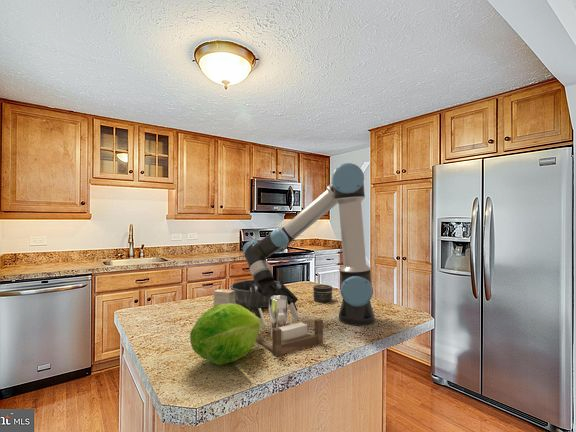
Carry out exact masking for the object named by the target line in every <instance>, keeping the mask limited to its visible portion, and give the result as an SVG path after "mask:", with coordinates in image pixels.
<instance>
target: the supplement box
mask: <svg viewBox="0 0 576 432" xmlns="http://www.w3.org/2000/svg"><path fill="white" fill-rule="evenodd" d="M230 303H231V304H236V302H235V290H231V289H225V288H218V289H215V290H213V307H214V306H217V305H221V304H230Z"/></svg>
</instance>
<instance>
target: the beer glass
mask: <svg viewBox="0 0 576 432" xmlns="http://www.w3.org/2000/svg"><path fill="white" fill-rule="evenodd" d="M288 306H289V304H288V303H287V297H286V296H283V295H273V296H270V297H269V306H268V318H269V324H270V334H269V336H270V337H271V338H272V339H273V329H274V328H279V327H283V326H286V324H287V319H288V313H289V310H288V309H289V307H288Z"/></svg>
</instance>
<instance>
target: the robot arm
mask: <svg viewBox="0 0 576 432" xmlns="http://www.w3.org/2000/svg"><path fill="white" fill-rule="evenodd" d="M331 175H332V176H331V183H330V184H328V185H326V186H327V187H326V190H325V191H324V192H323V193H322V194H320V195H319V196H318V197H317V198H315V199H314V200H313V201H312V202H310V204H309V205H308V206H306V207H305V208H304V209H303V210H301V211H300V212H299V213H298V214H297V215H296V216H294V217H293V218H292V219H291V220H289V221H288V222H287V223H286V224H285V225H284V226H283V227H278V228H276V229H274V230H273V231H271V232H270V233H269V234H267V235H266V236H265V237H263V238H262V239H261V240H259V241H257V240H250V241H247V242H246V243H245V244H244V245H243V246H242V252H243V255H244V258H245V260H246V263H247V265H248V268H249V270H250V274H251V277H252V278H253V279H252V280H254V282H255V285H256V286H254V285H252V286H251V287H250V299H249V305H248V307H247V309H248V310H249V311H250V312H252V313H253V314H254V315H255V316H257V317H258V318H260V319H261V320H262V327H261V329H265V328H266V327H267V326H268V324H267V322H266V320H265V319H266V318H265V317H264V313H263V311H262V307H259V305H260V302H261V300H262V298H263V296H265V297H266V296H273V295H283V296H286V297H287V303H288V309H289V311H290V314H291V317H292V318H293V320H294V322H295V323H296V322H297V323H298V321H299V319H300V316H299V313H298V308H297V305H296V303H297V301H298V297H297V296H296V295H295V294H294V293H293V292H292V291H290V289H289V288H287V286H286V285H285V284H284V282H283V281H279V282H280V283H277V284H276V283H275V282H274V281H275V278H274V275H273V273H272V271H271V267H270V265H269V264H268V261H267V259H268V258H269V257H270V256H272V255H273V254H274V253H276V252H277V251H280V250H282V249H285V248H286V247H288V246H289V245H290V244H291V243H292V242H294V240H296V239H297V238H298V237H300V235H301V234H303V232H305V231H306V230H308V228H310V227H312V225H314V224H315V223H316V222H318V220H320V219H321V218H322V217H323V216H324V215H326V214H327V213H328V212H329V211H330V210H332V209H333V208H334V207H335V206H336V205H338V211H339V212H338V213H339V225H340V235H341V236H340V238H341V249H342V250H341V251H342V262H343V263H342V264H343V265H342V267H341V268H339V273H340V291H339V292H340V295H341V297H342V302H341V305H340V309H339V312H338V320H339V321H340V322H342V323H344V324H347V325H352V326H368V325H372V324H374V323H375V321H376V320H375V313H374V309H373V306H372V303H371V302H372V301H371V299H372V297H373V295H374V288H373V281H372V271H371V268H370V267H369V265H367V262H366V261H367V259H366V248H365V247H366V246H365V245H366V244H365V234H364V233H365V232H364V222H363V208H362V207H363V206H362V202H363V200H365V198H366V194H365V182H364V181H365V175H364V172H363V170H362V168H361V167H360V166H359V165H357V164H355V163H352V162H346V163H342V164H340V165H338V166H337V167H336V168H335V169H334V171H333V173H332V174H331ZM277 287H278V288H277ZM256 290H257V291H258V292H260V295H259V298H258V300H257V302H256V304H255V306H253V304H254V297H255V292H256ZM280 290H281V291H280ZM276 291H277V293H276ZM258 307H259V308H258Z"/></svg>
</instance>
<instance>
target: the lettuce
mask: <svg viewBox="0 0 576 432" xmlns="http://www.w3.org/2000/svg"><path fill="white" fill-rule="evenodd" d="M193 325H194V326H193V327H192V329H191V330H190V334H189V339H190V342H189V343H190V345H191V348H192V350H193V351H194V353H196V354H197V355H198V356H200V357H201V358H202V359H204V360H206V361H209V362H211V363H213V364H215V365H217V366H221V365H227V364H229V363H234V362H236V361H238V360H239V359H240V360H241V358H243V357H245V356H247V355H248V353H249V352H250V351H251V350H252V348H253V347H254V346H255V343H256V342H257V341H256V339H257V336H259V332H260V330H261V329H262V320H261V319H260V318H258V317H257V316H255V313H253V312H252V311H249V310H248V308H247V307H246V308H244V307H243V306H241V305H238V304H236V303H235V304H231V303H230V304H221V305H217V306H214V305H213V306H212V307H211V308H210V309H209V310H207V311H205V312H204V313H202V315H201V316H200V317H198V319H197V320H196V321H195V323H194V324H193Z"/></svg>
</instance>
